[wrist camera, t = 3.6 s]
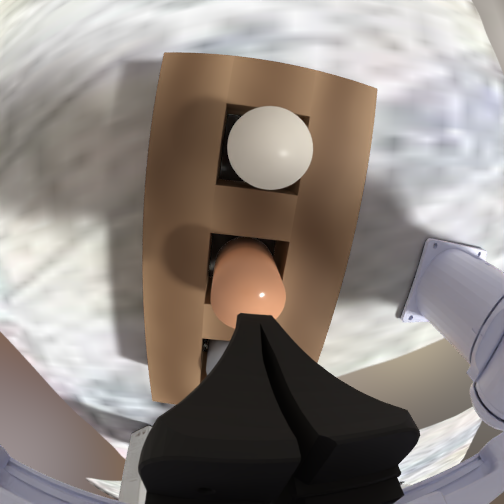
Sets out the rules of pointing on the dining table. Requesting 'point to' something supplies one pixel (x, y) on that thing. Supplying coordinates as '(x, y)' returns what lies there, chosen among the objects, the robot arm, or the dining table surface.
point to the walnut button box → (244, 204)
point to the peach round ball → (246, 281)
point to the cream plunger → (270, 147)
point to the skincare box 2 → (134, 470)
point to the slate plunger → (215, 353)
